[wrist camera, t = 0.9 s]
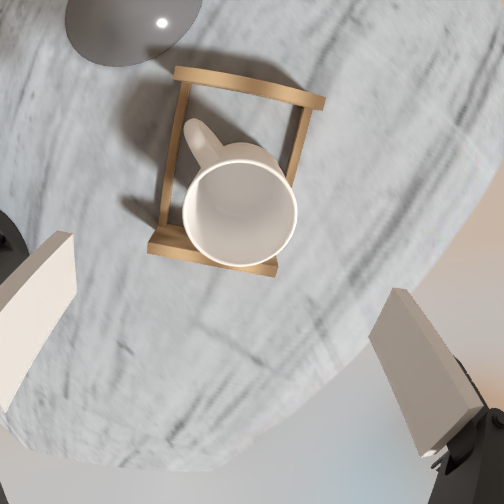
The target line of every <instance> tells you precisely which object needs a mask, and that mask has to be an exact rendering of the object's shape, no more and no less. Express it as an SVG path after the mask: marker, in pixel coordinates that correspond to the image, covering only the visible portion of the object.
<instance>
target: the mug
mask: <svg viewBox="0 0 504 504" xmlns="http://www.w3.org/2000/svg"><path fill="white" fill-rule="evenodd" d="M184 136H185V139H186V141H187V143H188V146H189V147H190V149H191V151H192V153H193V155H194V156H195V158H196V160H197V162H198V163H199V165H200V166H201V168H200V170H199V172H198V173H197V175H196V176H195V178H194V180H193V181H192V183H191V184H190V186H189V188H188V190H187V192H186V194H185V197H184V201H183V207H182V219H183V224H184V228H185V231H186V233H187V235H188V237H189V239H190V240H191V242H192V244H193V245H194V246H195V247H196V248H197V249H198V250H199V251H200V252H201V253H202V254H203V255H205V256H206V257H208V258H209V259H211V260H213V261H215V262H218V263H220V264H224V265H228V266H234V267H244V266H251V265H256V264H259V263H262V262H264V261H266V260H268V259H270V258H272V257H273V256H275V255H276V254H277V253H279V252H280V251H281V250H282V249H283V248H284V247H285V245H286V244H287V243H288V241H289V240H290V238H291V236H292V234H293V232H294V229H295V226H296V222H297V204H296V199H295V196H294V193H293V191H292V189H291V187H290V185H289V183H288V181H287V180H286V178H285V176H284V174H283V172H282V170H281V169H280V167H279V165H278V163H277V162H276V160H275V159H274V158H273V157H272V156H271V154H269V153H268V152H267V151H266V150H264V149H263V148H261V147H259V146H257V145H254V144H250V143H242V142H239V143H232V144H228V145H225V146H223V145H222V143H221V142H220V141H219V139H218V138H217V137H216V136H215V134H214V133H213V132H212V131H211V130H210V129H209V128H208V127H207V126H206V125H205V124H204V123H203V122H202V121H200V120H198V119H190V120H188V121H187V122H186V123H185V125H184Z"/></svg>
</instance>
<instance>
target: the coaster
mask: <svg viewBox="0 0 504 504" xmlns="http://www.w3.org/2000/svg"><path fill="white" fill-rule="evenodd" d="M201 4H202V0H70V1H69V3H68V7H67V11H66V30H67V35H68V38H69V40H70V42H71V44H72V46H73V47H74V49H75V50H76V51H77V52H78V53H79V54H80V55H81V56H82V57H84V58H85V59H87V60H89V61H91V62H94V63H96V64H100V65H104V66H112V67H123V66H130V65H134V64H138V63H142V62H144V61H147V60H150V59H152V58H154V57H156V56H158V55H160V54H161V53H163V52H164V51H166V50H167V49H169V48H170V47H171V46H173V45H174V44H175V43H176V42H177V41H178V40H179V39H181V38H182V37H183V35H184V34H185V33H186V32H187V31H188V30H189V28H190V27H191V25H192V24H193V22H194V21H195V19H196V17H197V15H198V13H199V10H200V7H201Z"/></svg>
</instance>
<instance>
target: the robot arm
mask: <svg viewBox="0 0 504 504" xmlns="http://www.w3.org/2000/svg"><path fill="white" fill-rule="evenodd" d="M76 293H77V285H76V274H75V261H74V244H73V234H72V233H67V232H62V231H56V232H55V233H54V234H53V235H52V236H51V237H49V238H48V239H47V240H46V241H45V242H44V243H43V244H42V245H41V246H40V247H39V248H37V249H36V250H35V251H34V252H33V253H32V254H31V255H30V256H29V253H28V250H27V247H26V244H25V242H24V240H23V238H22V236H21V234H20V233H19V231H18V229H17V228H16V227H15V225H14V224H13V223H12V221H11V220H10V219H9V218H8V217H7V216H6V215H5V214H3V213H2V212H1V211H0V411H2V412H4V413H6V412H7V410H8V408H9V406H10V404H11V402H12V400H13V398H14V396H15V394H16V392H17V390H18V388H19V386H20V384H21V383H22V381H23V379H24V377H25V375H26V374H27V372H28V370H29V368H30V366H31V365H32V363H33V361H34V359H35V358H36V356H37V354H38V353H39V351H40V349H41V348H42V346H43V344H44V343H45V341H46V339H47V338H48V336H49V335H50V333H51V331H52V330H53V328H54V327H55V325H56V323H57V322H58V320H59V319H60V317H61V316H62V314H63V313H64V311H65V310H66V308H67V307H68V305H69V304H70V302H71V301H72V299H73V298H74V296H75V295H76ZM369 339H370V341H371V343H372V345H373V348H374V350H375V352H376V354H377V356H378V358H379V360H380V363H381V365H382V367H383V369H384V372H385V374H386V376H387V378H388V381H389V383H390V385H391V387H392V390H393V392H394V394H395V397H396V399H397V401H398V403H399V406H400V408H401V411H402V413H403V416H404V418H405V420H406V423H407V425H408V427H409V430H410V433H411V435H412V438H413V440H414V443H415V445H416V448H417V451H418V453H419V456H420V458H421V457H426V456H430V455H434V454H436V453H437V452H439V451H440V450H441V449H442V448H443V447H444V446H445V445H447V447H448V451H447V452H446V453H445V454H444V455H443V456H442V457H441V458H439V459H438V460H437V461H436V462H435V463H434V464H433V465H432V466H431V468H432V469H433V468H435V467H436V466H437V465H438V464H439V463H441V466H440V467H439V468H438V469H437V470H436V471H438V475H437V479H436V482H435V485H434V488H433V490H432V493H431V496H430V499H429V502H428V504H504V412H503V411H501V410H500V409H497V408H491V409H489V408H488V406H487V404H486V403H485V401H484V399H483V398H482V396H481V394H480V393H479V391H478V389H477V387H476V386H475V384H474V383H473V382H472V381H471V380H472V379H471V378H470V376H469V375H468V374H467V372H466V370H465V368H464V367H463V365H462V364H461V362H460V361H459V360H458V359H456V358H455V357H454V356H453V355H452V353H451V352H450V350H449V349H448V347H447V346H446V344H445V343H444V342H443V340H442V338H441V337H440V335H439V334H438V332H437V331H436V330H435V328H434V327H433V325H432V324H431V322H430V321H429V320H428V318H427V317H426V315H425V314H424V313H423V311H422V310H421V308H420V307H419V306H418V304H417V303H416V302H415V300H414V299H413V297H412V296H411V295H410V293H409V292H408V291H407V290H406V289H399V288H392V291H391V293H390V295H389V297H388V299H387V301H386V303H385V305H384V307H383V309H382V311H381V313H380V315H379V317H378V319H377V321H376V323H375V325H374V327H373V329H372V331H371V333H370V335H369ZM0 504H9V503H8V501H7V499H6V496H5V494H4V491H3V488H2V485H1V483H0Z"/></svg>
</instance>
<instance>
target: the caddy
mask: <svg viewBox="0 0 504 504" xmlns="http://www.w3.org/2000/svg"><path fill="white" fill-rule="evenodd" d="M173 79H174V80H177V81H180V82H182V83H181V87H180V92H179V97H178V102H177V106H176V111H175V117H174V122H173V127H172V133H171V138H170V144H169V150H168V156H167V162H166V169H165V176H164V182H163V190H162V197H161V205H160V213H159V221H158V227H157V228H156V230H155V232H154V233H153V235H152V236H151V238H150V240H149V241H148V249H147V253H149V254H154V255H159V256H164V257H169V258H174V259H179V260H184V261H189V262H194V263H200V264H205V265H210V266H215V267H221V268H226V269H231V270H237V271H242V272H248V273H253V274H258V275H264V276H269V277H275V276H276V273H277V269H278V263H277V258H276V255H275V256H273V257H272V258H270V259H268V260H266V261H264V262H262V263H259V264H256V265H251V266H244V267H234V266H228V265H224V264H220V263H218V262H215V261H213V260H211V259H209V258H208V257H206V256H205V255H203V254H202V253H201V252H200V251H199V250H198V249H197V248H196V247H195V246H194V245H193V244H192V242H191V240H190V239H189V237H188V235H187V233H186V231H185V228H184V227H181V226H176V225H170V224H167V222H168V214H169V207H170V199H171V192H172V186H173V179H174V173H175V167H176V161H177V155H178V149H179V143H180V138H181V133H182V127H183V122H184V117H185V112H186V107H187V102H188V98H189V93H190V88H191V84H197V85H204V86H210V87H216V88H221V89H227V90H232V91H237V92H242V93H247V94H252V95H256V96H261V97H265V98H269V99H274V100H278V101H282V102H286V103H290V104H294V105H297V106H301V107H303V108H302V112H301V116H300V120H299V123H298V127H297V131H296V135H295V139H294V143H293V146H292V150H291V154H290V158H289V162H288V165H287V169H286V173H285V178H286V180H287V181H288V183H289V185H290V187H291V188H292V184H293V181H294V177H295V174H296V170H297V166H298V163H299V159H300V155H301V151H302V148H303V144H304V140H305V136H306V133H307V129H308V125H309V121H310V118H311V114H312V110H313V109H314V110H322V111H323V107H324V103H325V100H326V97H323V96H320V95H316V94H313V93H309V92H306V91H302V90H299V89H295V88H291V87H287V86H283V85H279V84H275V83H271V82H267V81H263V80H258V79H253V78H249V77H244V76H239V75H234V74H228V73H223V72H217V71H211V70H204V69H198V68H191V67H183V66H175V71H174V75H173Z"/></svg>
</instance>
